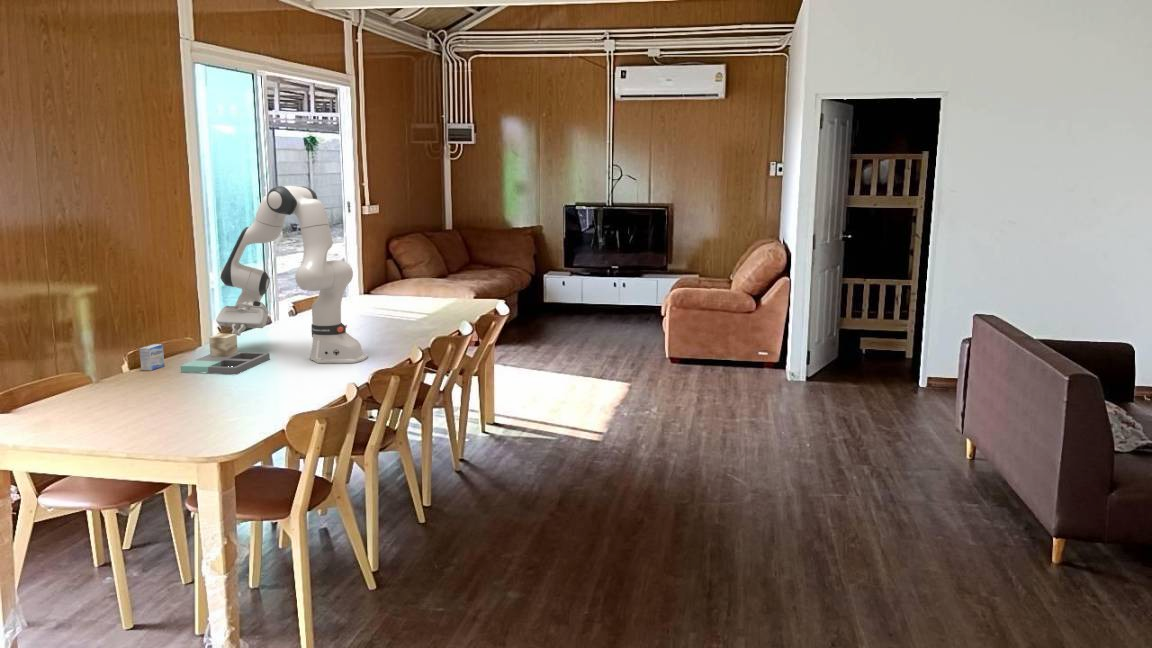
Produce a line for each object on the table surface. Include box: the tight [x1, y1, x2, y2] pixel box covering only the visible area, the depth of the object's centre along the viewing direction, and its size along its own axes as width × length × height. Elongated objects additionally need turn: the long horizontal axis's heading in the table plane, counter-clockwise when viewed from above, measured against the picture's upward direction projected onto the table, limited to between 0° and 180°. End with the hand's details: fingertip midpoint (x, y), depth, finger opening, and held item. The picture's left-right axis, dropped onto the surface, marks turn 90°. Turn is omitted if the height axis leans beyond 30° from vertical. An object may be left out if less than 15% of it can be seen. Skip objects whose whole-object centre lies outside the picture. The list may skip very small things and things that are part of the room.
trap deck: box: [180, 351, 271, 375], centre depth 342 cm, size 22×26×2 cm
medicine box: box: [139, 343, 166, 372], centre depth 336 cm, size 8×4×9 cm, turn 168°
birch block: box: [208, 332, 239, 357], centre depth 350 cm, size 7×8×8 cm
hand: (235, 334), depth 359 cm, fingers closed
